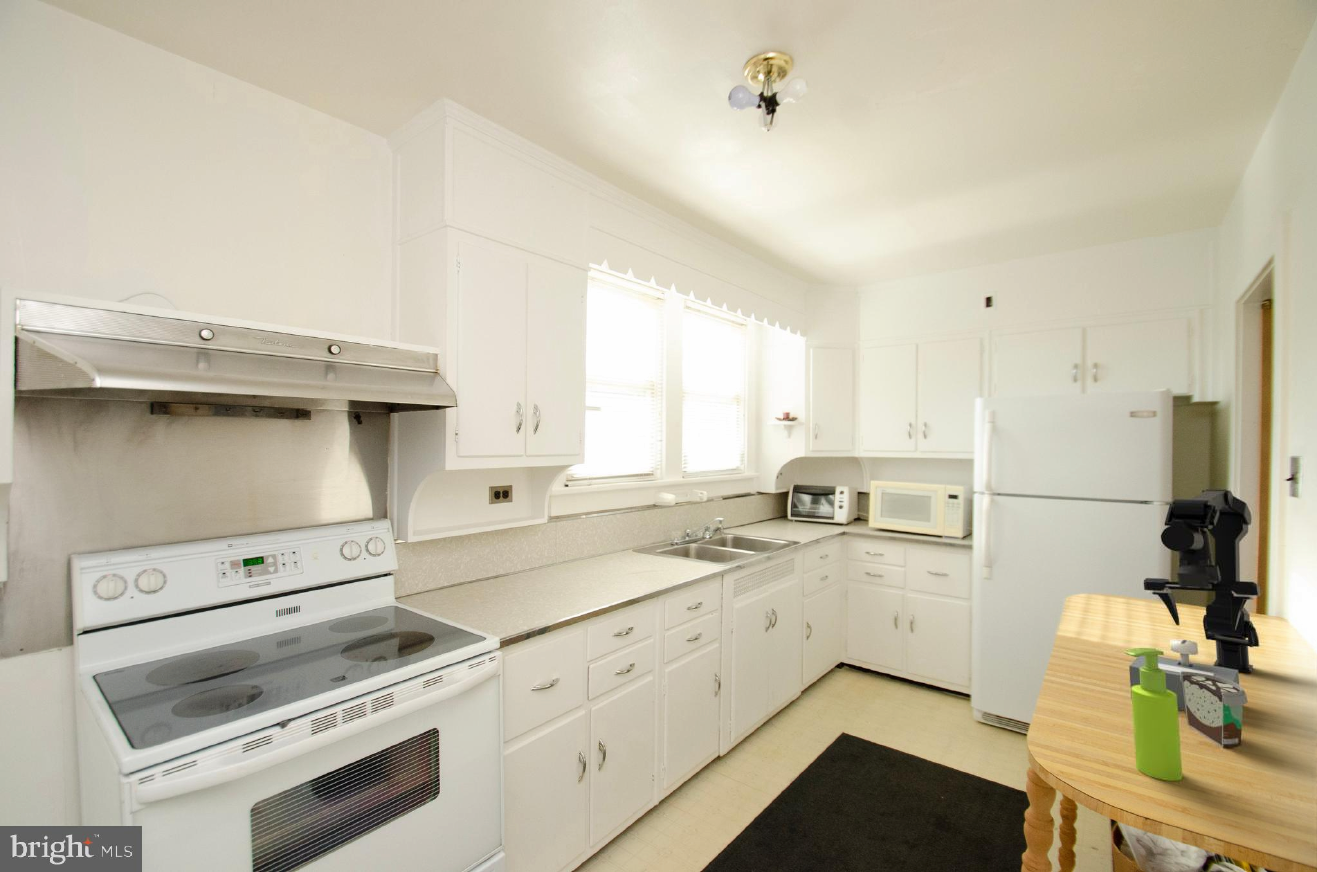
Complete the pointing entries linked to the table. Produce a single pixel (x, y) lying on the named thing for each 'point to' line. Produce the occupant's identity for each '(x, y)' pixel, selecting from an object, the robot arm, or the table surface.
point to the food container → (1214, 707)
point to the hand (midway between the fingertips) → (1205, 627)
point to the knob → (1184, 649)
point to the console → (1174, 671)
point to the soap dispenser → (1155, 720)
